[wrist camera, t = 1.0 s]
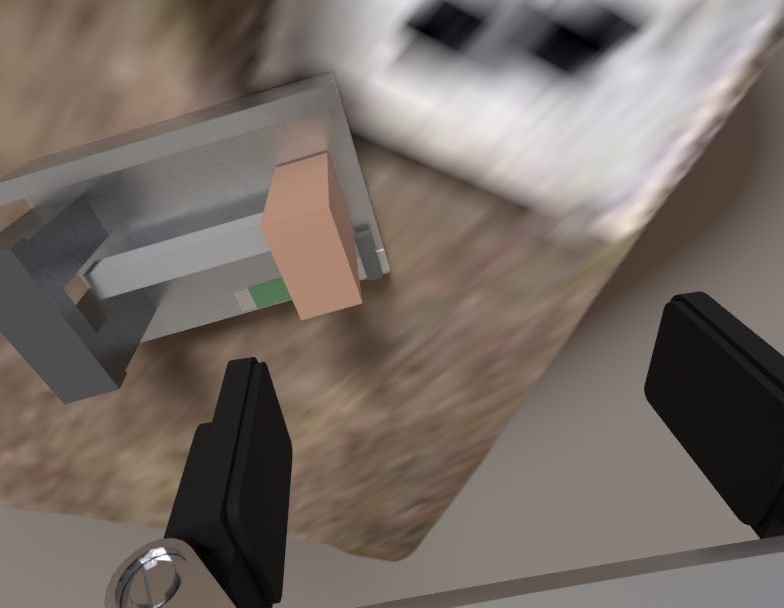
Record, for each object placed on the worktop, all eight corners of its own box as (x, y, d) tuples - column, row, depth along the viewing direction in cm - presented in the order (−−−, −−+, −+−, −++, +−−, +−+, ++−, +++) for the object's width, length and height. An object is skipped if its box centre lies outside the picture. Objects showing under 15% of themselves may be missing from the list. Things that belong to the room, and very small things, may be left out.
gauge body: (332, 70, 27) (337, 103, 19) (386, 255, 34) (407, 337, 26) (29, 161, 28) (-90, 230, 20) (140, 325, 34) (85, 427, 26)
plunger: (344, 147, 27) (352, 199, 20) (382, 271, 31) (398, 347, 25) (87, 223, 27) (11, 298, 21) (160, 333, 32) (117, 425, 25)
